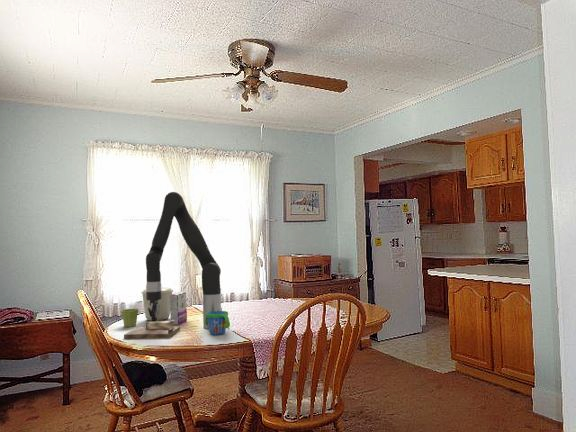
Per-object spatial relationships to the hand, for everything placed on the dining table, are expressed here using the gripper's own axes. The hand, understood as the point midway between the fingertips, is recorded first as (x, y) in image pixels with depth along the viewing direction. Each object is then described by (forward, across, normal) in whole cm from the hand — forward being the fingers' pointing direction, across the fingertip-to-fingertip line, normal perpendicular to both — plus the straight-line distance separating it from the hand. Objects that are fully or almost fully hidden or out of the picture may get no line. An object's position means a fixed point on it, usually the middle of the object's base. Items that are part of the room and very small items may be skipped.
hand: (154, 324), depth 220 cm
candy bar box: (+3, +18, -8) cm, 20 cm away
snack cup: (+3, -14, -34) cm, 37 cm away
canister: (+3, +31, +6) cm, 32 cm away
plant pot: (+3, +14, +17) cm, 22 cm away
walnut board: (+3, -10, -2) cm, 11 cm away
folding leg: (+1, -6, -5) cm, 8 cm away
